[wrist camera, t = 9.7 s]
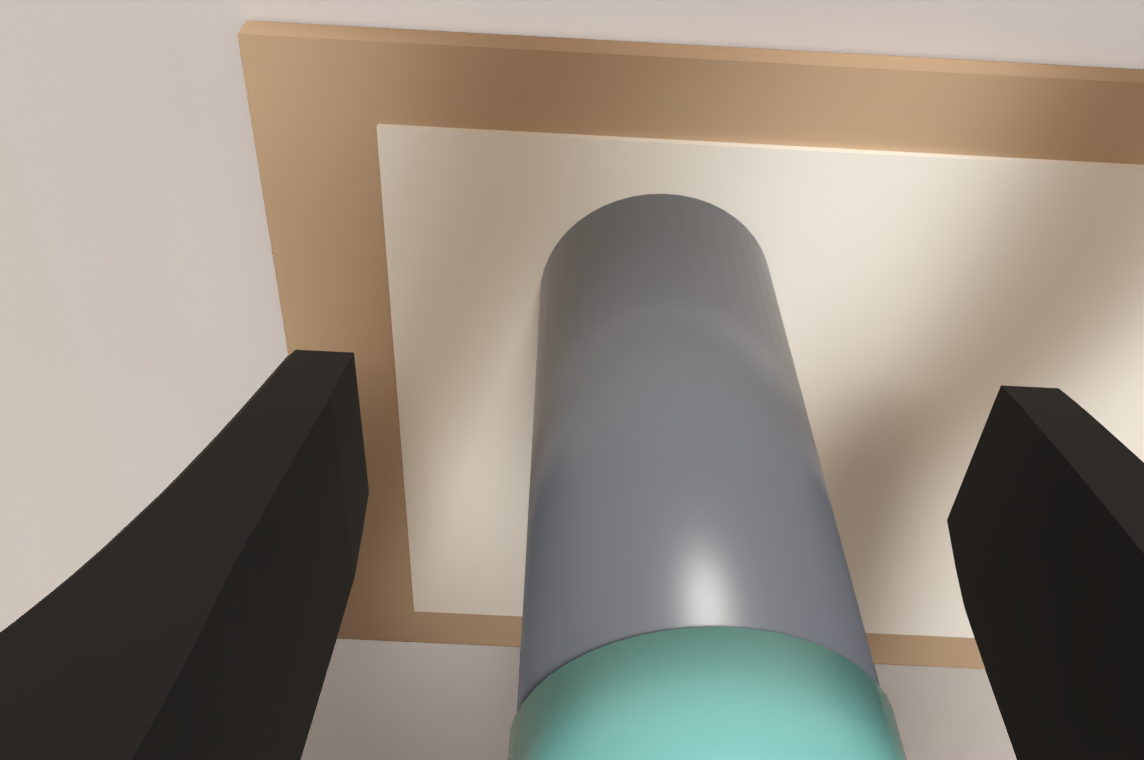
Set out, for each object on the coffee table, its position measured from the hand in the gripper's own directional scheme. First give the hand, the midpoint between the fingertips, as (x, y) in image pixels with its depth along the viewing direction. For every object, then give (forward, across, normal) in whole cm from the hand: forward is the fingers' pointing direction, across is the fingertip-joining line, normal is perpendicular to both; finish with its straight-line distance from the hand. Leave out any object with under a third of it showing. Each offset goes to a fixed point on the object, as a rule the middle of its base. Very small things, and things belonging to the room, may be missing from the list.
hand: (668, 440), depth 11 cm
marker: (+3, 0, 0) cm, 3 cm away
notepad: (+3, -4, +2) cm, 6 cm away
